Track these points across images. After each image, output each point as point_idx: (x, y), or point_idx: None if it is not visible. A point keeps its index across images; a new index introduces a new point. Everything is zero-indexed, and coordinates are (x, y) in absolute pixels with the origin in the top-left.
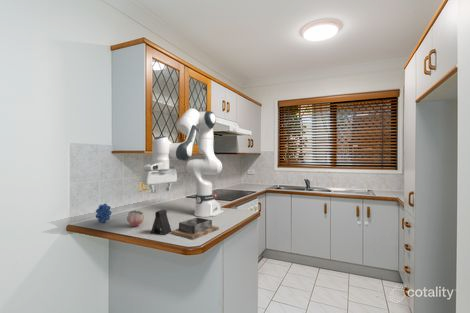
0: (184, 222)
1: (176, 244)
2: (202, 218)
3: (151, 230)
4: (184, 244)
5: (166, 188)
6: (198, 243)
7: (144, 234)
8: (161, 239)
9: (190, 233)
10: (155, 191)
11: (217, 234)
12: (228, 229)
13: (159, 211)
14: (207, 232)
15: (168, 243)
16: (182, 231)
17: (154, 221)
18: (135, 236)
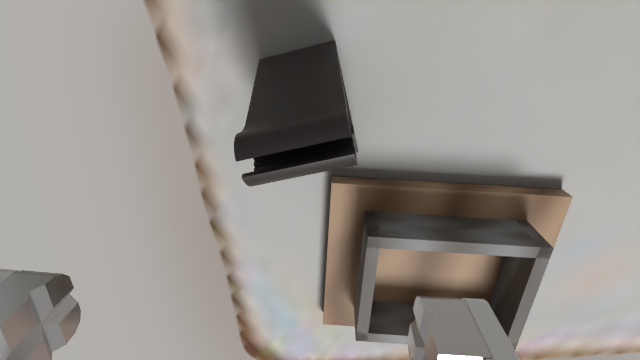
0: (404, 247)
1: (239, 294)
2: (533, 291)
3: (257, 69)
4: (260, 317)
5: (428, 356)
6: (302, 349)
7: (223, 38)
8: (236, 198)
9: (352, 291)
10: (59, 347)
11: None
12: (531, 357)
13: (258, 175)
14: None
15: (224, 261)
16: (357, 240)
17: (250, 109)
18: (162, 21)
